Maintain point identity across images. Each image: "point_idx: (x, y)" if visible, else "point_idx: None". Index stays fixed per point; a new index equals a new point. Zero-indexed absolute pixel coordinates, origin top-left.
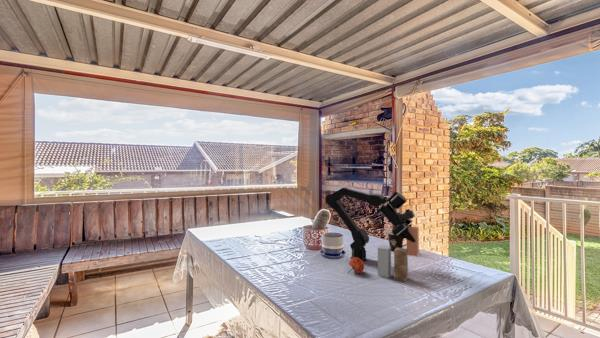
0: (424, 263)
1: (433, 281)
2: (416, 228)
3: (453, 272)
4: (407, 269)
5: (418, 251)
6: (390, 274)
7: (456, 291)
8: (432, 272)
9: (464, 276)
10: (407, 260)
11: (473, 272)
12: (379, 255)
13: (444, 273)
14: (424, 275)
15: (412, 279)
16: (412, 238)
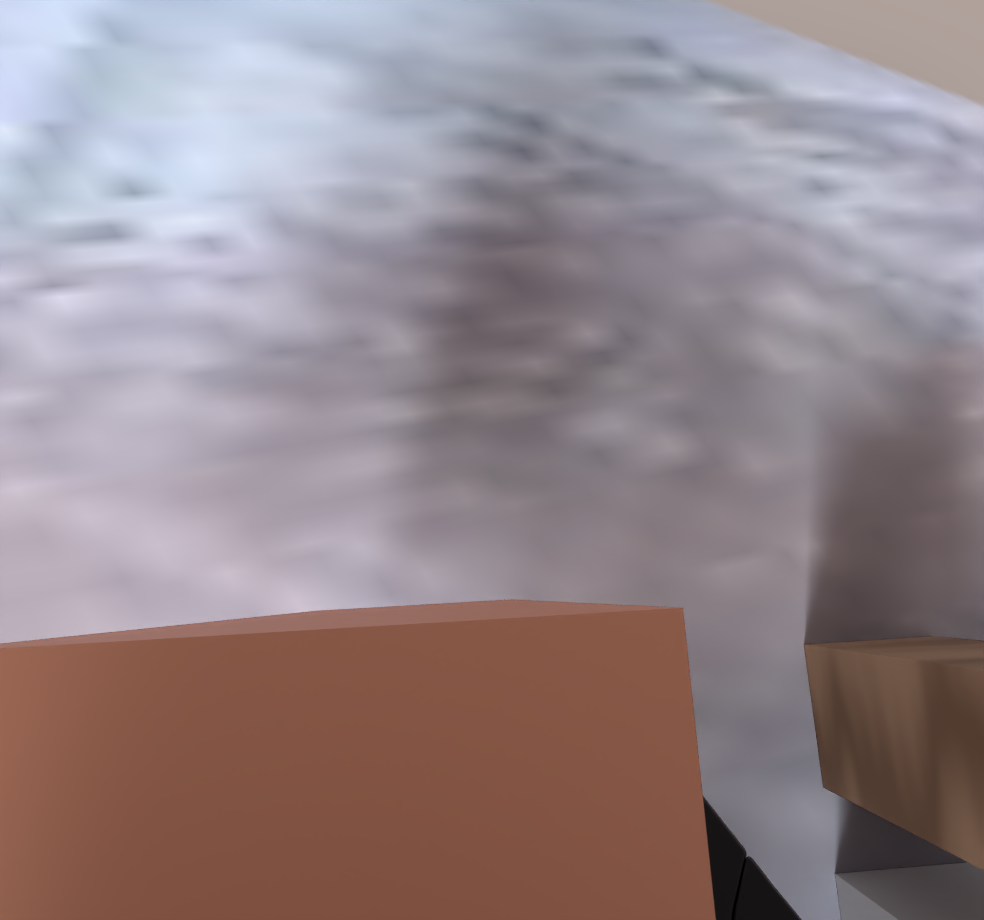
0: (86, 583)
1: (725, 363)
2: (467, 685)
3: (284, 210)
4: (878, 652)
5: (334, 610)
6: (872, 876)
7: (847, 144)
8: (426, 420)
9: (362, 102)
10: (968, 666)
11: (162, 28)
12: None
13: (381, 293)
14: (594, 485)
15: (817, 580)
16: None
